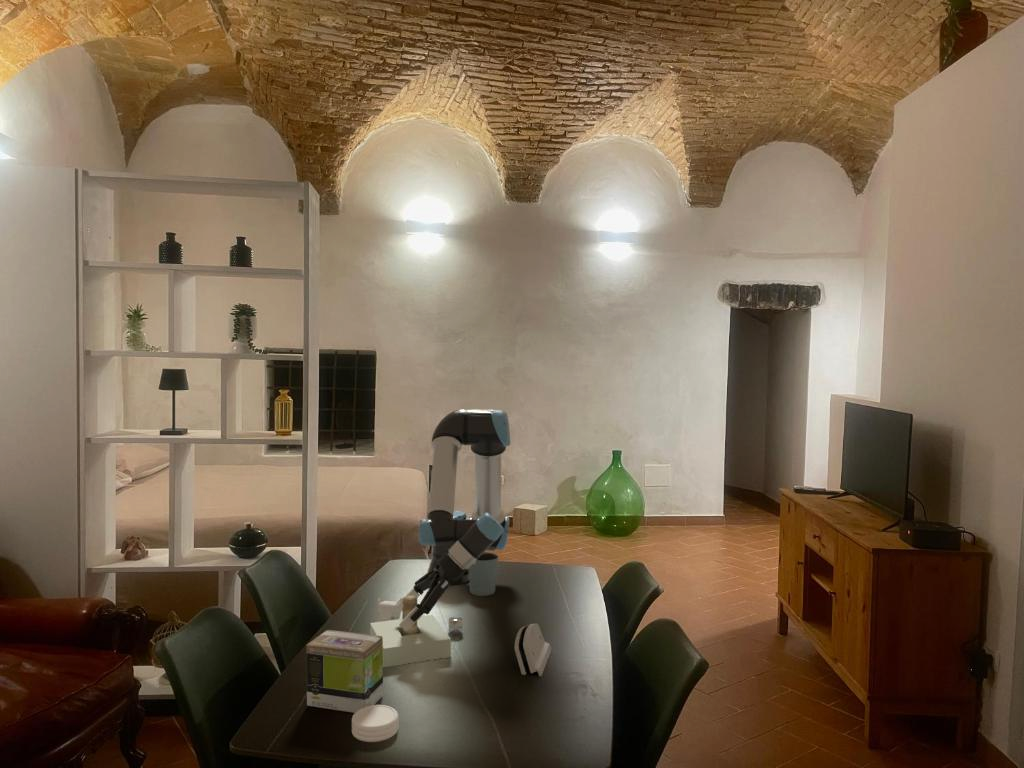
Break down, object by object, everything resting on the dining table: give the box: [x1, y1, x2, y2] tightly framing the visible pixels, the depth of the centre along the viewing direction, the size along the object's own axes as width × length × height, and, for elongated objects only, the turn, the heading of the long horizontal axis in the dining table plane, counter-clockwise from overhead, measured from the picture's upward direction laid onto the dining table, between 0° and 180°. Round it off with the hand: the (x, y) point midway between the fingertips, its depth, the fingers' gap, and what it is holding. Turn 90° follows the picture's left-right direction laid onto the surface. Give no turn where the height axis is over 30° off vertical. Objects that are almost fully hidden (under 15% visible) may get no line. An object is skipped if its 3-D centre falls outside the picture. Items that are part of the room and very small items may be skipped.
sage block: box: [369, 614, 452, 668], centre depth 201 cm, size 18×18×5 cm
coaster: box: [351, 704, 400, 743], centre depth 160 cm, size 10×10×4 cm
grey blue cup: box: [468, 551, 499, 597], centre depth 247 cm, size 10×10×12 cm
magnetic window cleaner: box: [514, 623, 552, 677], centre depth 195 cm, size 17×5×10 cm, turn 168°
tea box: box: [305, 629, 384, 714], centre depth 172 cm, size 15×10×15 cm
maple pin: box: [401, 595, 418, 636], centre depth 201 cm, size 4×4×14 cm
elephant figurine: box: [376, 595, 403, 622], centre depth 220 cm, size 8×10×7 cm
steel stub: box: [447, 616, 463, 637], centre depth 213 cm, size 4×4×4 cm
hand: (401, 618), depth 201 cm, fingers open, 13 cm apart
